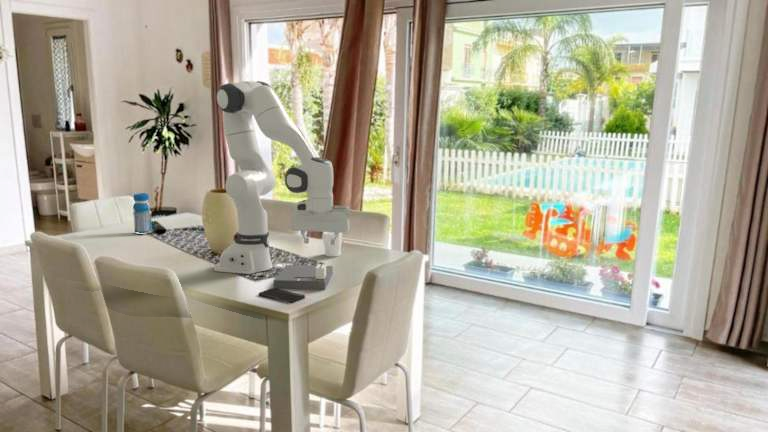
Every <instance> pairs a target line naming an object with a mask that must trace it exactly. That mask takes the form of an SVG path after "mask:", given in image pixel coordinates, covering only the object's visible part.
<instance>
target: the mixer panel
mask: <svg viewBox="0 0 768 432" xmlns="http://www.w3.org/2000/svg"><path fill="white" fill-rule="evenodd" d="M316 267H317V265H301V264H300V265H299V264H298V265H297V264H294V265H293V264H291V265H290V264H285V266H284V267H283V268H282V270H281V271H280V272H279V273H278V275H276V277H275V278H274V279H273V288H276V289H280V290H287V289H288V290H321V291H322V290H326V289H327V286H328V284H329V282H330V280H331V278H332V276H333V274H334V269H333V268H334V266H333V265H326V277H325V279H316Z"/></svg>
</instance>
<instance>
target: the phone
mask: <svg viewBox="0 0 768 432" xmlns="http://www.w3.org/2000/svg"><path fill="white" fill-rule="evenodd" d="M258 296H259V297H261V298H265V299H269V300H273V301H277V302H280V301H281V303H284V302H286V303H285V304H288V303H291V304H294V303H296V301H297V302H300V301H301V300H305V298H306V295H304V294H301V293H296V292H294V291H293V292H292V291H289V290H286V289H276V288H274V287H273V288H269V289H266V290H263V291H260V292H258Z"/></svg>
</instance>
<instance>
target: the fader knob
mask: <svg viewBox="0 0 768 432" xmlns="http://www.w3.org/2000/svg"><path fill="white" fill-rule="evenodd" d="M316 266H317V267H316V279H325V277H326V266H327V264H321V263H317V265H316Z"/></svg>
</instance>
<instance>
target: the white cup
mask: <svg viewBox="0 0 768 432" xmlns="http://www.w3.org/2000/svg"><path fill="white" fill-rule="evenodd" d="M322 233H323V247H324V256H326V257H331V258H332V257H339V256H341V255H342V254H341V252H342V238H343V237H342V236H343V233H340V232H339V235H338V236H337V238H336V243H335V245H332V244H331V239H334V238H335V236H336V235H334V232H322Z"/></svg>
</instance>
